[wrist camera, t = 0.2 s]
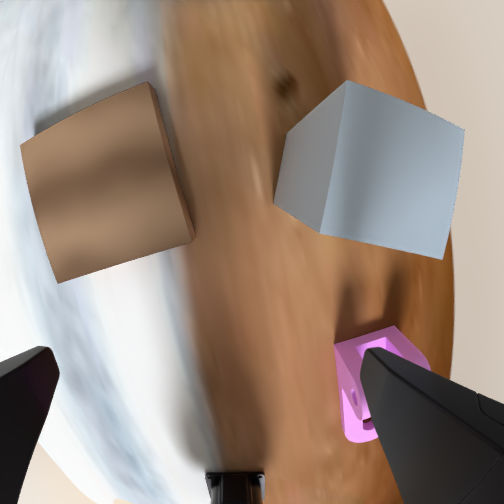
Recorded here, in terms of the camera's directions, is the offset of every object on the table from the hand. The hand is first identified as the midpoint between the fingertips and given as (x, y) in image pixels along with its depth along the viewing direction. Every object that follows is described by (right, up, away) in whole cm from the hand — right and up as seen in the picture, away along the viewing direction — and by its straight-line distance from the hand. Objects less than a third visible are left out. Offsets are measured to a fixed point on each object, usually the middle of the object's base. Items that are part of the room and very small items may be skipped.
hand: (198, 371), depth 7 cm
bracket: (+12, -10, +18) cm, 24 cm away
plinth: (-9, +8, +12) cm, 17 cm away
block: (+6, +8, +13) cm, 17 cm away
